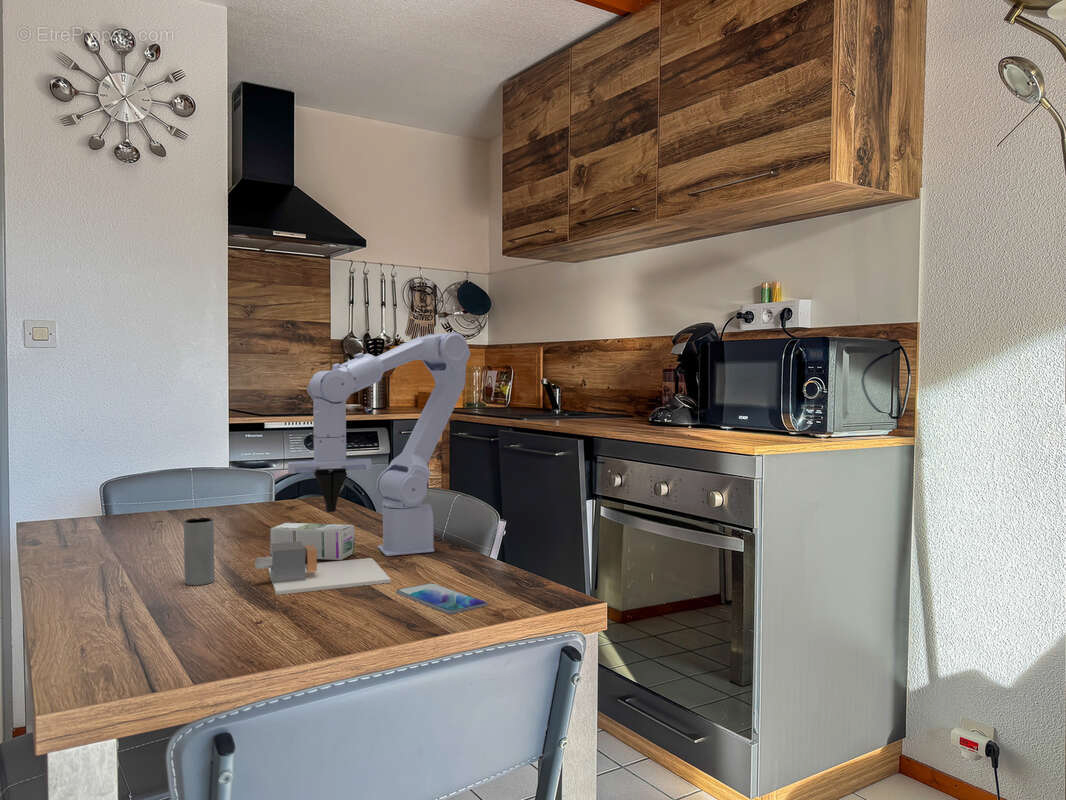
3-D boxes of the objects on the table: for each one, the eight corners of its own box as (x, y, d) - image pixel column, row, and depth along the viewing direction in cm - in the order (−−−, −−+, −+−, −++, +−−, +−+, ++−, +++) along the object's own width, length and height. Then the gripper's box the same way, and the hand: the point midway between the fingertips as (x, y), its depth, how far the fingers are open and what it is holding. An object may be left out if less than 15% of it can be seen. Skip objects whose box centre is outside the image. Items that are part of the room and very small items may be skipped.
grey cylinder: (220, 579, 129) (219, 518, 129) (200, 586, 125) (199, 523, 125) (198, 577, 131) (197, 516, 131) (178, 584, 127) (177, 521, 126)
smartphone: (432, 582, 126) (489, 602, 115) (432, 587, 126) (489, 608, 115) (394, 589, 121) (449, 611, 110) (393, 595, 121) (449, 617, 110)
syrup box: (269, 558, 145) (342, 562, 142) (269, 526, 144) (342, 530, 141) (285, 550, 150) (355, 555, 147) (285, 520, 150) (355, 524, 147)
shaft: (313, 565, 132) (313, 544, 132) (316, 571, 128) (316, 549, 128) (254, 571, 128) (254, 549, 128) (256, 577, 125) (255, 555, 125)
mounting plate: (371, 561, 142) (371, 557, 142) (390, 582, 127) (390, 579, 127) (268, 571, 135) (268, 567, 135) (275, 595, 120) (275, 591, 120)
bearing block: (301, 571, 132) (301, 541, 132) (305, 579, 127) (305, 548, 127) (270, 574, 130) (270, 543, 130) (273, 583, 125) (272, 551, 125)
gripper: (366, 433, 147) (366, 505, 147) (286, 436, 141) (287, 510, 142) (373, 436, 140) (374, 511, 141) (289, 439, 135) (290, 516, 135)
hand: (330, 511), depth 141 cm, fingers closed
